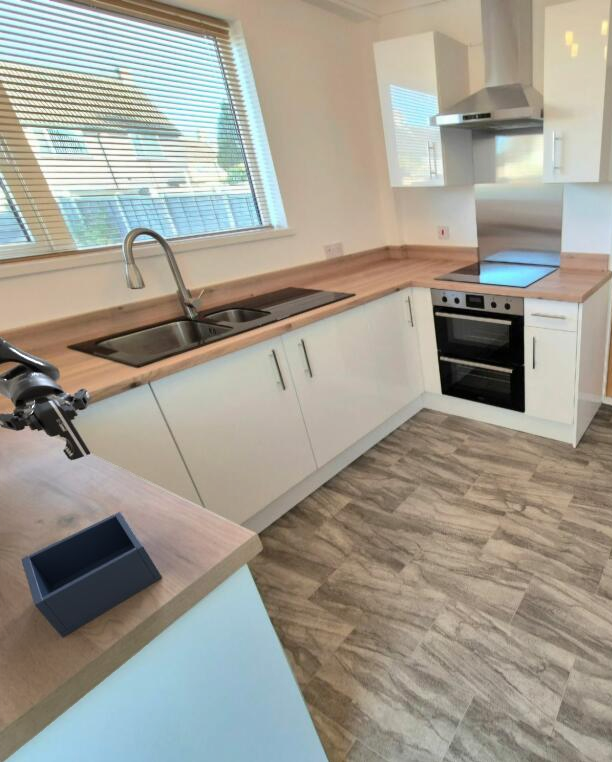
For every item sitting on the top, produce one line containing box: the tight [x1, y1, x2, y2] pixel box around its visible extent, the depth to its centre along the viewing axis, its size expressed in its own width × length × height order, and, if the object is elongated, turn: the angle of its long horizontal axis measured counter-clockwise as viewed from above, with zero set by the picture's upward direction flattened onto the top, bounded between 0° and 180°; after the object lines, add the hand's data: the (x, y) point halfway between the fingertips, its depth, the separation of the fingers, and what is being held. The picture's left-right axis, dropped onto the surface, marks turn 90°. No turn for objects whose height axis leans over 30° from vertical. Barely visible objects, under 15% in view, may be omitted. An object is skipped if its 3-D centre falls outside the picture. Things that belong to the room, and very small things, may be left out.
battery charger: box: [33, 400, 91, 461], centre depth 84 cm, size 7×4×11 cm, turn 54°
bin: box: [21, 511, 163, 638], centre depth 64 cm, size 12×13×7 cm
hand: (54, 420), depth 81 cm, fingers closed on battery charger, 4 cm apart
